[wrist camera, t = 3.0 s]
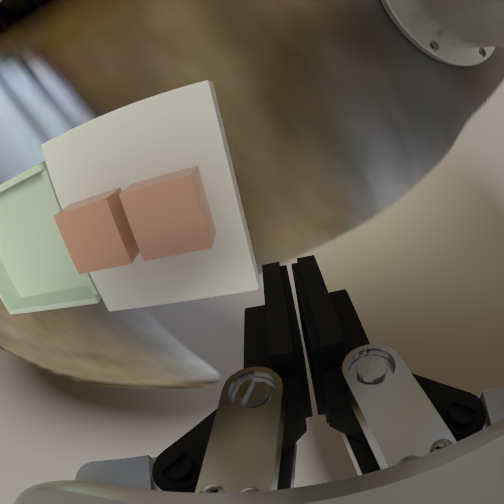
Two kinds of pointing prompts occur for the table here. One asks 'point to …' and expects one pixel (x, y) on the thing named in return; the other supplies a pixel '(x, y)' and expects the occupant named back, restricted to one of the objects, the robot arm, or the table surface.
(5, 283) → the tray
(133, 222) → the tile
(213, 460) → the robot arm
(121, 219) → the tile
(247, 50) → the table surface
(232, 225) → the board
